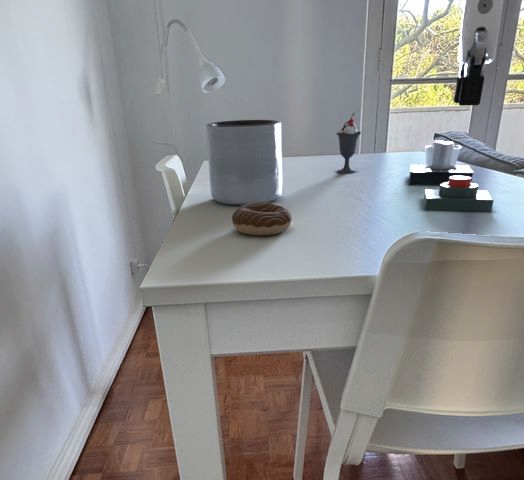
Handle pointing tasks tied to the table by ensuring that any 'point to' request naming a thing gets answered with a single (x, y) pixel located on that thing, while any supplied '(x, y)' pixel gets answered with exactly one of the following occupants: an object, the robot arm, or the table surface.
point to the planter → (245, 161)
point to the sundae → (348, 143)
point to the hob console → (435, 174)
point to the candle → (454, 155)
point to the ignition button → (459, 181)
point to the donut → (261, 219)
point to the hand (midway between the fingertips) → (465, 103)
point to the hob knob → (442, 155)
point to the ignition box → (458, 198)
